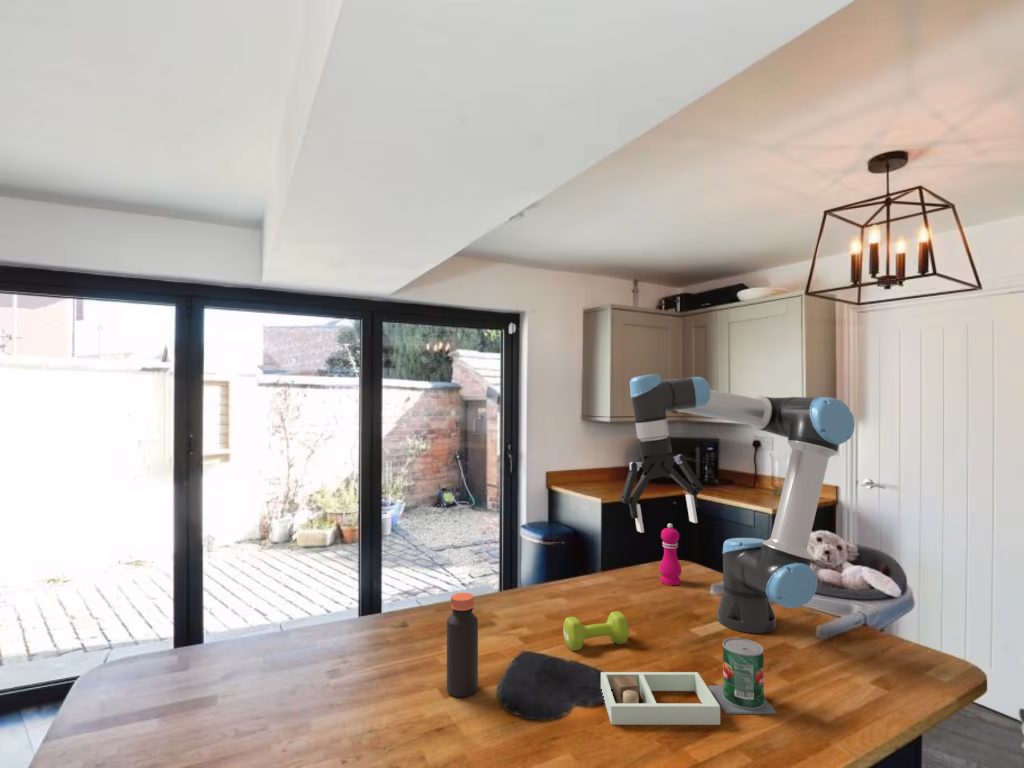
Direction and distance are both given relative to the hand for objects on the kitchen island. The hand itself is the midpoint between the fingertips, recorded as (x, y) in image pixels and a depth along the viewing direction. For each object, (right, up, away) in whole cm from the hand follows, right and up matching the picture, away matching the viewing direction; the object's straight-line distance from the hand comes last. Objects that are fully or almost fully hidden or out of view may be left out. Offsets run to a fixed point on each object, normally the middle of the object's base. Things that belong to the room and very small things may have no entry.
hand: (667, 526), depth 131 cm
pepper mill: (+16, -33, +54) cm, 65 cm away
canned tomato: (+11, -31, -18) cm, 38 cm away
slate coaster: (+11, -32, -17) cm, 38 cm away
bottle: (-48, -32, -13) cm, 59 cm away
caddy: (-8, -32, -19) cm, 38 cm away
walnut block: (-13, -32, -17) cm, 39 cm away
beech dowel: (-14, -32, -22) cm, 41 cm away
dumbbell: (-16, -33, +9) cm, 37 cm away
